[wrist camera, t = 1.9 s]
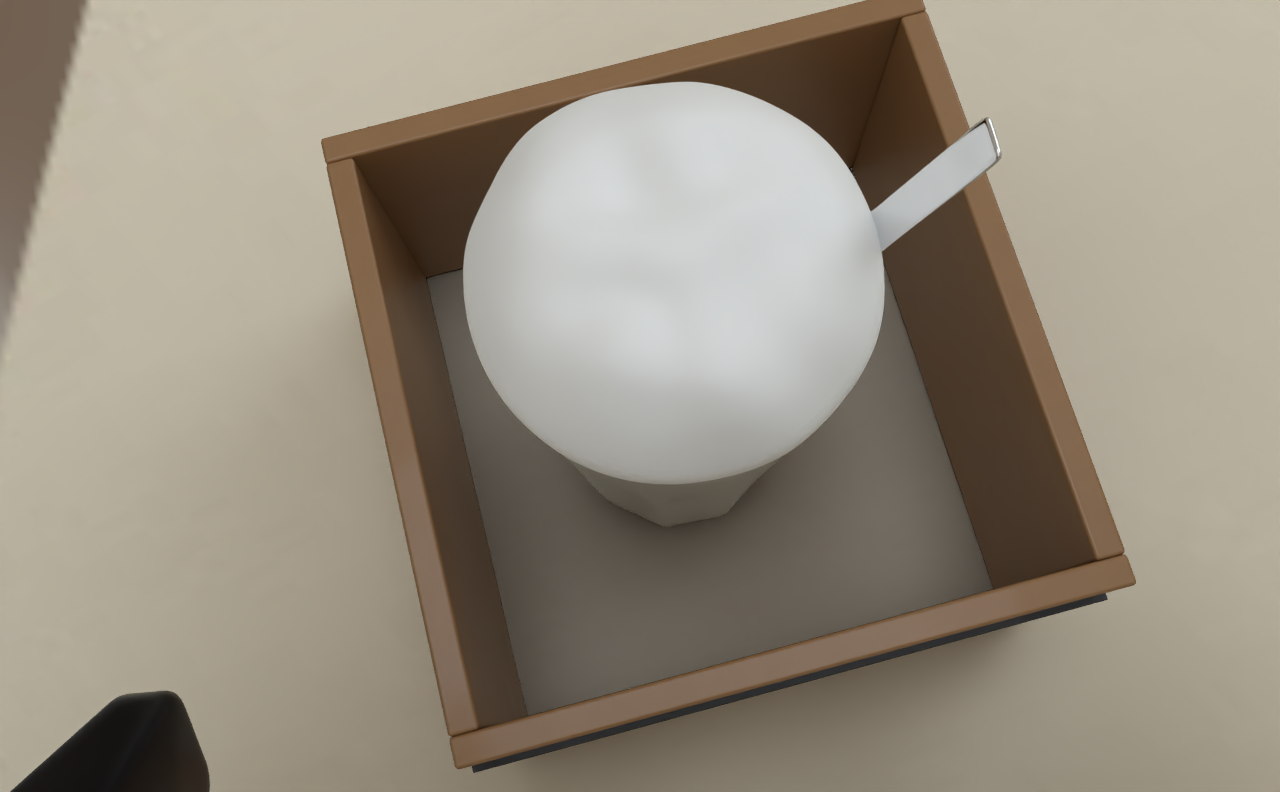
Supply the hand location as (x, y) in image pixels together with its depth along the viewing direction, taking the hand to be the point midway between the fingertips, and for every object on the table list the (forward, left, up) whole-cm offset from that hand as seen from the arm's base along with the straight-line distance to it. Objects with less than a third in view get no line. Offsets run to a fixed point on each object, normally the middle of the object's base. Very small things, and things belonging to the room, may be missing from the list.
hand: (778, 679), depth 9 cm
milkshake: (+4, -1, -11) cm, 12 cm away
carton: (+4, -1, -11) cm, 12 cm away
